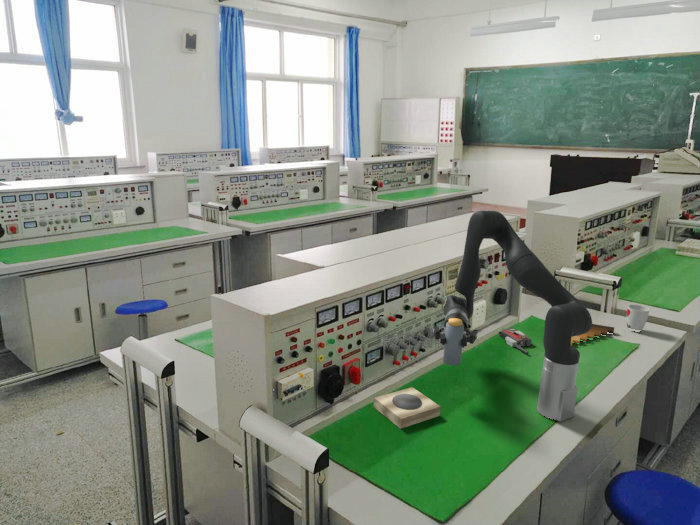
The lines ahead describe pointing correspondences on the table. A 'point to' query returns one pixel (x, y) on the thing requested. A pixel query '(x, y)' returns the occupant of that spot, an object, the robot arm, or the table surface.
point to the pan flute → (593, 333)
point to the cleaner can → (453, 342)
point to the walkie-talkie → (515, 338)
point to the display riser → (406, 407)
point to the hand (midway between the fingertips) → (453, 343)
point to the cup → (637, 316)
